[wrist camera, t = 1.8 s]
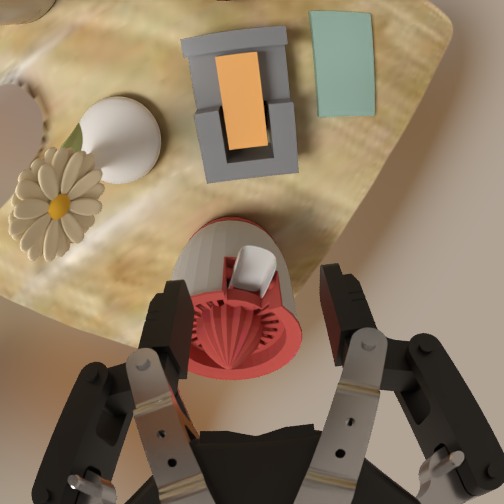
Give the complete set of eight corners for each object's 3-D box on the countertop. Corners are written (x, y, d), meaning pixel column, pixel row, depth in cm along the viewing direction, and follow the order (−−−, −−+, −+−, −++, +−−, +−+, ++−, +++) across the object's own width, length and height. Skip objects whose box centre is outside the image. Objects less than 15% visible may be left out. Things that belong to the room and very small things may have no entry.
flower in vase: (136, 192, 40) (59, 344, 20) (70, 151, 36) (-50, 271, 16) (189, 113, 34) (115, 228, 15) (114, 66, 30) (-41, 125, 10)
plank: (217, 56, 28) (215, 57, 26) (255, 51, 28) (256, 51, 26) (230, 142, 34) (229, 149, 32) (266, 138, 34) (268, 145, 32)
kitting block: (189, 40, 29) (180, 39, 25) (279, 28, 29) (285, 25, 24) (211, 165, 39) (207, 183, 34) (291, 155, 38) (298, 172, 34)
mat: (308, 11, 27) (310, 10, 26) (367, 13, 27) (370, 13, 26) (317, 115, 35) (319, 117, 34) (371, 113, 35) (374, 115, 34)
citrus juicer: (309, 211, 43) (345, 325, 27) (262, 298, 53) (269, 408, 37) (198, 175, 39) (167, 283, 23) (169, 274, 49) (144, 386, 33)
